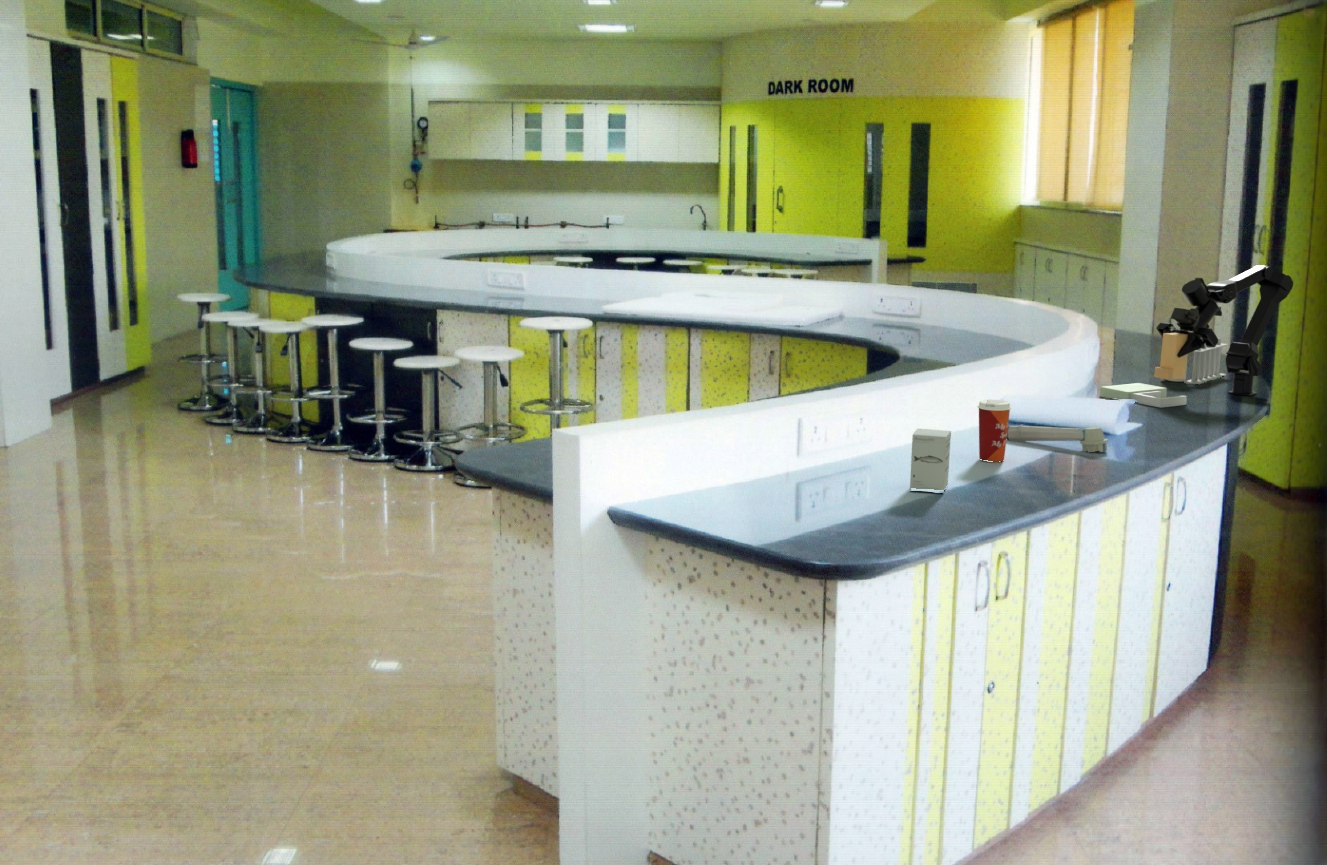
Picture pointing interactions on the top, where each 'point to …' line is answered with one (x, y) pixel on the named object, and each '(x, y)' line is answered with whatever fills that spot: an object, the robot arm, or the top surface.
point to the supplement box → (930, 459)
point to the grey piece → (1060, 436)
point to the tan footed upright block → (1172, 357)
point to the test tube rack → (1206, 364)
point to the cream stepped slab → (1142, 394)
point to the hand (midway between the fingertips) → (1170, 355)
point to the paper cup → (993, 429)
